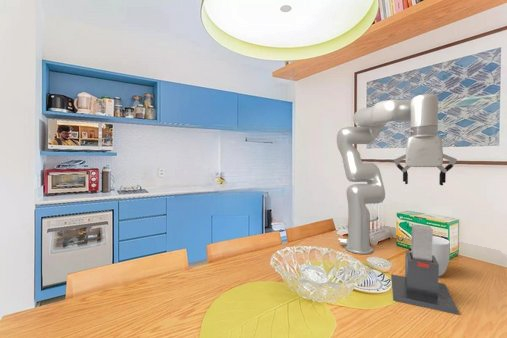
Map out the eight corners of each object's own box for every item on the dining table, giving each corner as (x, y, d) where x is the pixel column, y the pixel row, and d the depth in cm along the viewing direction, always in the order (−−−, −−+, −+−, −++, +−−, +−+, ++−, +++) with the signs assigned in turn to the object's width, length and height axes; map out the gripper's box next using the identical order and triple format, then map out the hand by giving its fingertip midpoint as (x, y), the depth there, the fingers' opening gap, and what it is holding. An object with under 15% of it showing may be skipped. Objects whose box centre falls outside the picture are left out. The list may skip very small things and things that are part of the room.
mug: (426, 283, 89) (427, 246, 88) (399, 270, 100) (400, 237, 99) (456, 277, 93) (457, 242, 93) (428, 265, 104) (428, 233, 103)
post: (411, 289, 81) (413, 228, 80) (410, 282, 85) (411, 224, 84) (431, 293, 79) (433, 230, 78) (428, 286, 83) (430, 225, 82)
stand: (393, 300, 78) (393, 262, 78) (391, 278, 93) (391, 246, 92) (457, 314, 71) (459, 272, 71) (444, 288, 86) (446, 253, 85)
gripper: (393, 133, 85) (393, 184, 86) (458, 129, 76) (458, 186, 77) (394, 135, 92) (394, 182, 92) (455, 132, 83) (454, 184, 83)
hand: (423, 184), depth 84 cm, fingers open, 9 cm apart
